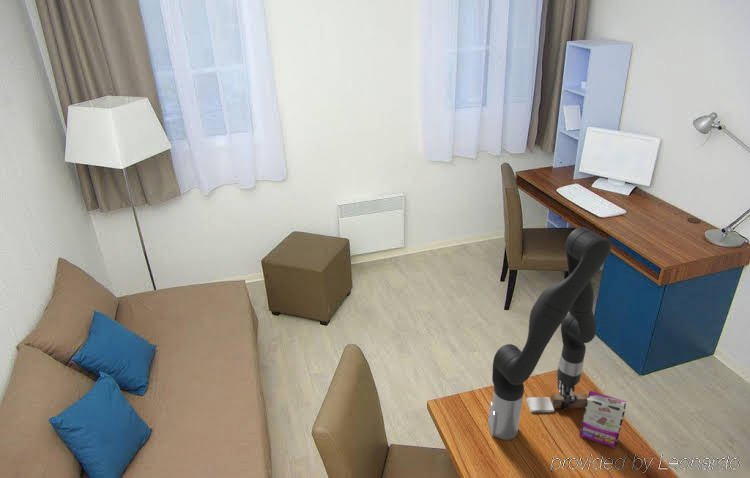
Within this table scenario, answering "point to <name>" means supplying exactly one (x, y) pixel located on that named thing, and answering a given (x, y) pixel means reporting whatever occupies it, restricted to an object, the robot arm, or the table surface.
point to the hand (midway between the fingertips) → (562, 404)
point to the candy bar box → (602, 419)
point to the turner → (554, 402)
